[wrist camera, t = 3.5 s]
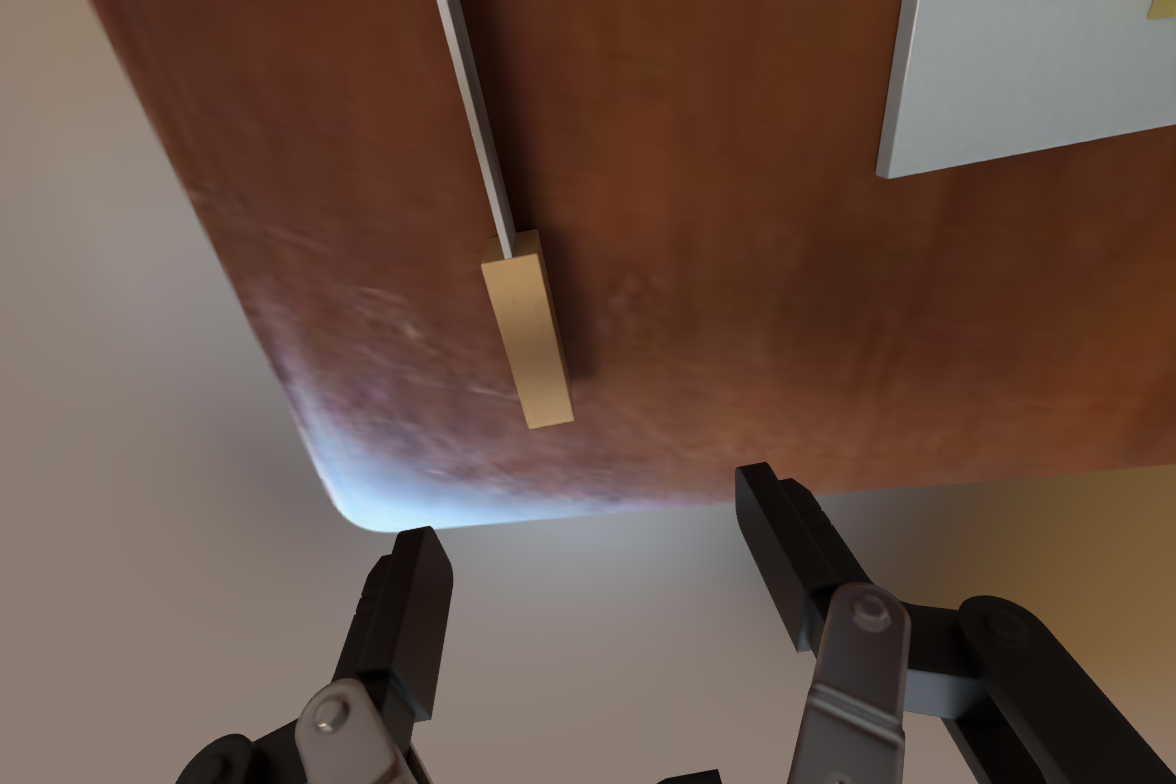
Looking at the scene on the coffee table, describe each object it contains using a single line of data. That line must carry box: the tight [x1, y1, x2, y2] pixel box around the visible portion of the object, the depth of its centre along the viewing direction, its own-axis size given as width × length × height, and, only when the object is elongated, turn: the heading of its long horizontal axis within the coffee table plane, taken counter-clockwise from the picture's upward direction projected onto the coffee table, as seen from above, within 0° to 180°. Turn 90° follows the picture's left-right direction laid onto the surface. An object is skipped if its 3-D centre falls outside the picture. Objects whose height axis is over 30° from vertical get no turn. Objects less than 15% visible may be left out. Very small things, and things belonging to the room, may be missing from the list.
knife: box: [437, 0, 575, 429], centre depth 19 cm, size 17×2×4 cm, turn 9°
